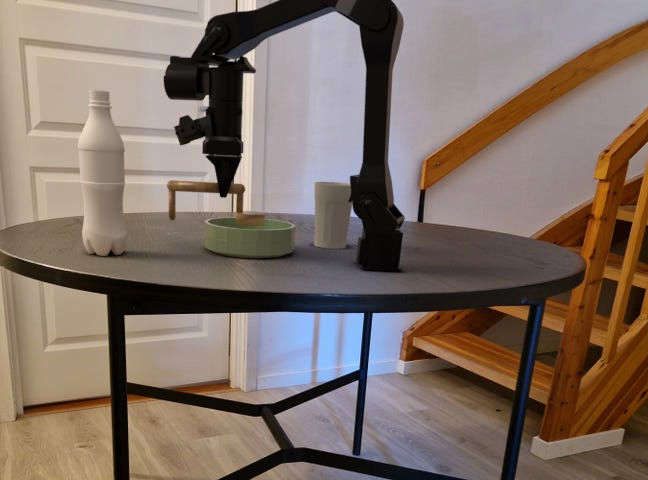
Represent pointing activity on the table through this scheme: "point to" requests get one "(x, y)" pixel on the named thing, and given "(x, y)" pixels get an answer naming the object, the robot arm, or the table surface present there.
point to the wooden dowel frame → (210, 187)
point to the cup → (332, 214)
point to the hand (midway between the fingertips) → (223, 197)
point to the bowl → (249, 238)
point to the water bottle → (102, 179)
